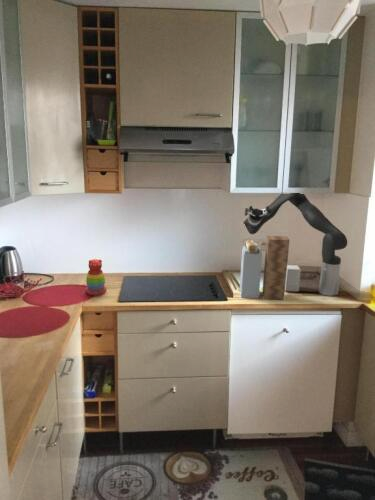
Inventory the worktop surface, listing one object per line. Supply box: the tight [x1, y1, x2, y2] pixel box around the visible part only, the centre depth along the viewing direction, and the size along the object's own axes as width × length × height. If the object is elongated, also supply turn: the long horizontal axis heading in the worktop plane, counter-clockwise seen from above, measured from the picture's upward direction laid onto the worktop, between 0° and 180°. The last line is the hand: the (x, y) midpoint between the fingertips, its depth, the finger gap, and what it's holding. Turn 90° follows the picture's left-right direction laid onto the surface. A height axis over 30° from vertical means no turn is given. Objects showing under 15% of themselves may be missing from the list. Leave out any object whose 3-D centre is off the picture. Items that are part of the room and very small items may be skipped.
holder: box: [239, 245, 263, 299], centre depth 225 cm, size 9×10×25 cm
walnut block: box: [261, 235, 290, 301], centre depth 220 cm, size 10×7×32 cm
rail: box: [245, 239, 258, 254], centre depth 224 cm, size 4×15×4 cm, turn 179°
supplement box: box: [285, 264, 302, 292], centre depth 236 cm, size 7×7×13 cm
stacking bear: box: [84, 258, 107, 296], centre depth 223 cm, size 11×10×18 cm
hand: (259, 207), depth 234 cm, fingers open, 8 cm apart
